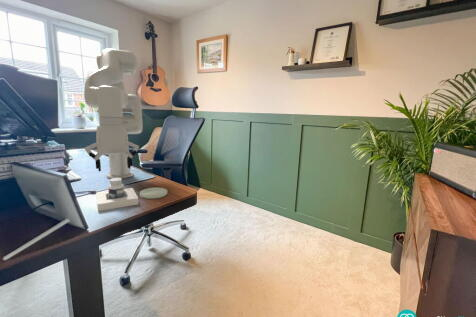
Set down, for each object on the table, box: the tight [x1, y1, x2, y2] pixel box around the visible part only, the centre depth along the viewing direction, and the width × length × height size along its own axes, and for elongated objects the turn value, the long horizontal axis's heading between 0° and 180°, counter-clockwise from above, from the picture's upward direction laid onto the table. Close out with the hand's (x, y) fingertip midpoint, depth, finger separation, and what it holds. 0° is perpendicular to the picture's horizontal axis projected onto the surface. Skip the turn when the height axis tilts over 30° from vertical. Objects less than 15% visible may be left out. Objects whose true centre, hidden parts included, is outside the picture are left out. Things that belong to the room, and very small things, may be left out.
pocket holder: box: [96, 187, 139, 212], centre depth 88 cm, size 13×13×2 cm
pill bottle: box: [107, 178, 125, 200], centre depth 87 cm, size 5×5×9 cm
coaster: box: [139, 187, 168, 200], centre depth 97 cm, size 11×11×1 cm
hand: (114, 169), depth 85 cm, fingers open, 9 cm apart
